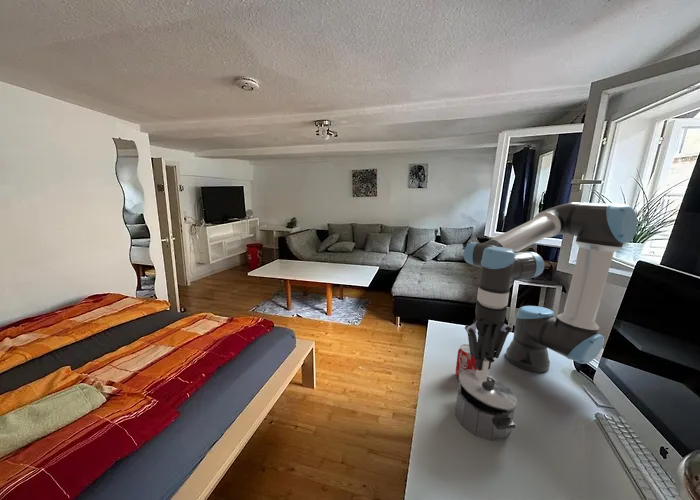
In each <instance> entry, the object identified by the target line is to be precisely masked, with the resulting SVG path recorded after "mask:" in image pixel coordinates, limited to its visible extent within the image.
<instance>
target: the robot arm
mask: <svg viewBox="0 0 700 500" xmlns="http://www.w3.org/2000/svg"><path fill="white" fill-rule="evenodd" d="M637 229H638V217H637V214H636V211H635V210H634V208H633V207H632V206H630V205H627V204H619V203H614V202H613V203H612V202H611V203H599V202H596V203H595V202H576V201H575V202H568V203H564V204H559V205H556V206H553V207H549V208H547V209H544V210H543V211H541V212H539V213H537V214H536V215H534V217H533V218H532V219H531V220H528V221H527V222H525V223H522V224H520V225H518V226H516V227H514V228H512V229H510V230H509V231H506V232H504V233H502V234H500V235H497V236H495V237H493V238H491V239H489V240H488V241H485V242H475V241H474V242H469V243H468V244H467V245H465V247H464V250H463V259H464V261H465V262H466V263H467V264H470V265H472V266H474V267H478V268H480V273H479V281H478V282H479V283H478V289H477V296H476V300H477V301H476V303H475V311H474V312H475V314H474V315H475V318H474V320H473V323H472V324H471V325H465V326H464V329H465V331H466V332H467V339H468V345H469V348H470V354H471V355H472V356H473V357H474V358H475V359H476V365H475V366H476V368H477V374H476V376H477V377H478V378H479V379H480V381H481V382H486V381H487V375H489V374H488V372H489V370H490V369H491V368H492V367H491V365H492V363H494V362H495V359H498V358H499V357H500V355H501V353H502V350H503V347H504V344H505V342H506V340H507V337H508V335H509V334H510V332H511V331H512V327H511V326H509V325H508V324H506V323H505V320H506V315H507V312H508V311H507V310H508V307H507V306H508V304H509V298H510V297H509V296H510V288H511V283H512V282H514V281H515V282H516V281H521V280H530V279H532V278H536V277H539V276H540V275H541V274H542V273H543V272H544V270H545V260H544V259H543V257H542V256H541V255H540V254H538V253H537V252H534V251H528V250H527V251H522V250H523V249H525V248H528V247H529V246H533V244H536V243H537V242H539V241H541V240H543V239H545V238H552V237H555V236H557V235H558V236H560V235H567V236H572V237H574V236H575V237H576V239H575V243H576V244H577V245H578V247H579V250H578V253H577V257H576V261H575V265H574V269H573V274H572V278H571V280H570V281H571V282H570V285H569V290H568V294H567V296H566V301H565V304H564V309H563V312H561V313H559V314H557V315H556V317H555V312H554V311H553V310H552V309H551V308H546V307H545V306H544V307H543V306H540V305H539V306H538V305H537V306H536V305H523V306H521V307H519V308H518V309H517V313H516V316H515V325H514V330H513V336H512V337H513V338H512V340H511V342H510V343H509V345H508V347H507V348H506V351H505V357H506V359H507V361H509V362H510V364H512V365H514V366H516V367H517V368H520V369H522V370H525V371H528V372H531V373H546V372H548V371H549V370H550V365H551V361H550V358H549V352H548V349H549V350H552V351H553V352H555V353H556V354H557V353H558V354H559V355H561V356H563V357H565V358H567V359H568V360H572V361H574V362H576V363H579V364H582V365H583V364H584V365H585V364H589V363H591V362H592V361H594V360H595V358H596V357H598V356H599V354H600V353H601V352H602V350H603V348H604V345H605V337H604V335H602V334H600V333H599V329H600V326H599V324H597V323H596V318H597V315H598V311H599V307H600V305H601V301H602V300H601V299H602V297H603V293H604V291H605V285H606V284H607V283H606V282H607V279H608V275H609V271H610V268H611V264H612V260H613V257H614V253H615V252H616V251H619V250H621V249H623V245H624V244H628V243H630V242H631V241H633V239H634V238H635V236H636V233H637ZM520 251H522V252H520ZM476 334H477V335H476Z"/></svg>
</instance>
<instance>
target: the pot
mask: <svg viewBox="0 0 700 500" xmlns="http://www.w3.org/2000/svg"><path fill="white" fill-rule="evenodd" d="M455 401H456V402H455V414H454V415H455V417H456V419H457V420H458V422H459V423H460V425H461V426H462V427H463V428H465V430H467V431H469V432H470V433H471V434H472V435H474V436H475V437H480V438H483V439H485V440H489V441H499V440H505V439H506V438H507V437H508V435H510V433H511V432H512V429H515V428H516V426H517V425H516V423H515V422H514V421H513V420H514V415H515V409H516V407H515V408H514V409H513V410H500V409H496V408H493V407H491V406H488V405H486V404H484V403H482V402H481V401H479V400H477V399H476V398H474V397H473V396H472V395H470V394H469V393H468V392H467V391H466V390H465V389H464V388H463V387H462V385H461V383H460V382H459V383H458V386H457V393H456V400H455Z"/></svg>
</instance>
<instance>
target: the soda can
mask: <svg viewBox="0 0 700 500" xmlns="http://www.w3.org/2000/svg"><path fill="white" fill-rule="evenodd" d="M456 355H457V356H456V365H455V375H456V377H457V378H458V379H459V375H460V372H461V371H463V370H467V369H470V370H476V371H477V368H476V366H475V365H476V359H475V358H474V357H473V356H472V355H471V354H470V348H469V344H468V343H467V344H466V343H465V344H462V345H460V346H459V348H458V351H457V354H456Z"/></svg>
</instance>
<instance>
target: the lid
mask: <svg viewBox="0 0 700 500" xmlns="http://www.w3.org/2000/svg"><path fill="white" fill-rule="evenodd" d="M476 374H477V371H476V370H470V369H467V370H463V371H461V372H460V375H459V378H458V381H459V383H461V385H462V387H463V388H464V389H465V390H466V391H467V392H468V393H469V394H470V395H472V396H473V397H474V398H476V399H477V400H479V401H481V402H482V403H484V404H486V405H488V406H491V407H493V408H496V409H500V410H513V409H514V408H515V409H516V406H517V404H518V400H517V397H516V394H515V393H514V392H513V391H512V390H511V388H509V387H508V386H507V385H505V384H504V383H503V382H501V381H500V380H499V379H497V378H495V377H494V376H492V375H489V374H487V381H486V382H481V381H480V379H479V378H478V377H477V376H476Z"/></svg>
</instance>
